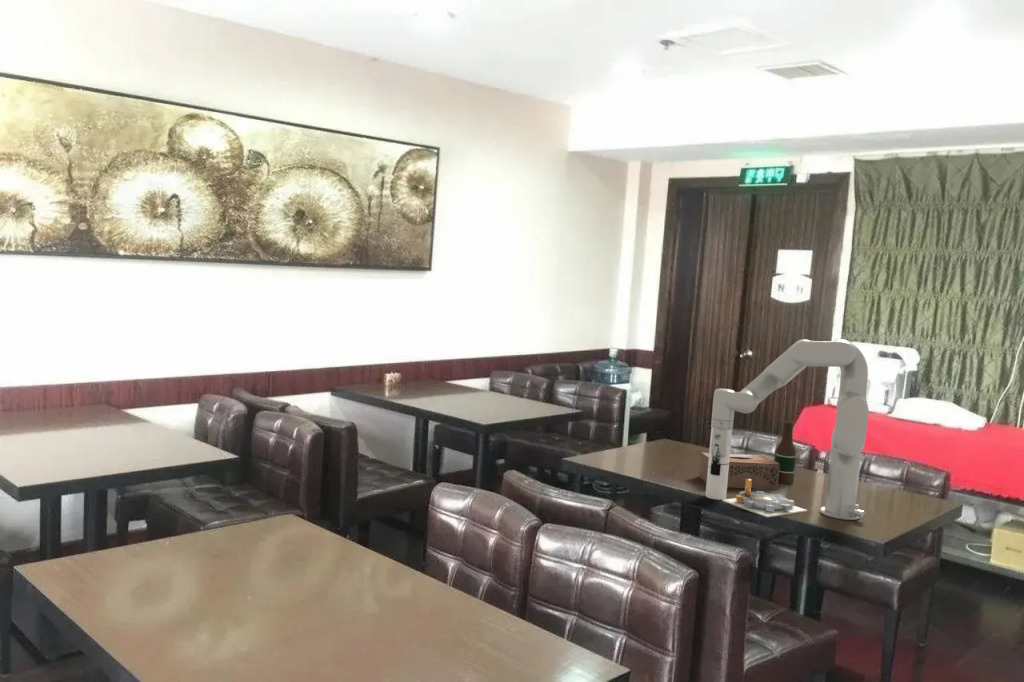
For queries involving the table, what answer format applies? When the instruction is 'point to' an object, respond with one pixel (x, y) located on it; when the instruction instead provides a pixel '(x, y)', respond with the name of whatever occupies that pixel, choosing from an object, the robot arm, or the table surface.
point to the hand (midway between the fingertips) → (717, 472)
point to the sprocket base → (764, 512)
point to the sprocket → (763, 499)
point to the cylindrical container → (718, 484)
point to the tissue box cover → (747, 471)
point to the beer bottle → (786, 455)
